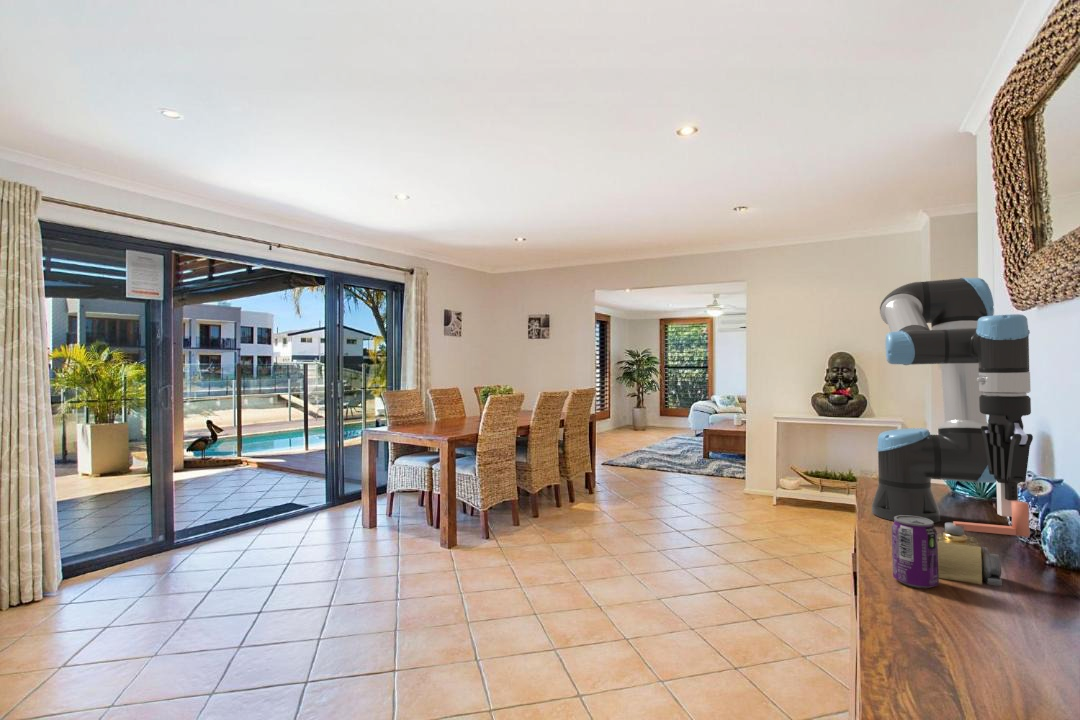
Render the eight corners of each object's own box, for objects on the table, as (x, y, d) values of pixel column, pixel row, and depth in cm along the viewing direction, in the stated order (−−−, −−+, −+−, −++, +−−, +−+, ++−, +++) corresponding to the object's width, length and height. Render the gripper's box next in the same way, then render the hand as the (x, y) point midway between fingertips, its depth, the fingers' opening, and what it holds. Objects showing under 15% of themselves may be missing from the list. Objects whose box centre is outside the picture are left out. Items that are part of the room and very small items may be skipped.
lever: (947, 533, 102) (946, 498, 102) (943, 529, 105) (942, 495, 105) (1032, 542, 97) (1031, 505, 97) (1026, 537, 99) (1025, 501, 100)
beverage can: (947, 592, 96) (945, 526, 96) (903, 589, 97) (901, 524, 97) (926, 576, 103) (924, 514, 103) (886, 574, 104) (884, 513, 104)
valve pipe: (914, 563, 109) (912, 525, 109) (995, 575, 102) (994, 534, 102) (916, 574, 104) (915, 533, 104) (1003, 587, 97) (1001, 544, 97)
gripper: (964, 392, 110) (968, 505, 110) (999, 396, 97) (1003, 524, 97) (1008, 391, 108) (1011, 507, 108) (1049, 396, 95) (1053, 527, 95)
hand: (1007, 515), depth 102 cm, fingers closed
